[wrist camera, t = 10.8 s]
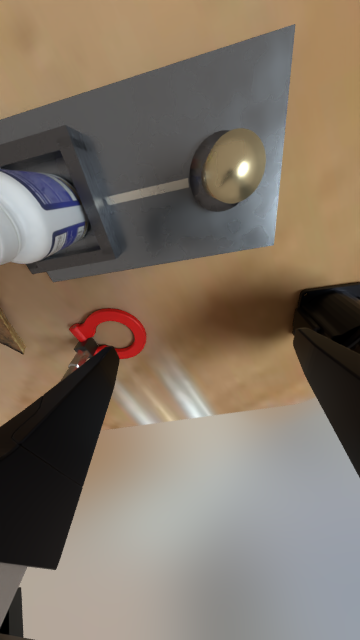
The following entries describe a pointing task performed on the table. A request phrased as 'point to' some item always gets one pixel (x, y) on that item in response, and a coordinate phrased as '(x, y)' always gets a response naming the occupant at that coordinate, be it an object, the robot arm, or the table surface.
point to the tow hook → (90, 348)
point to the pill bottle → (37, 216)
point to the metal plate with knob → (166, 158)
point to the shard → (10, 335)
